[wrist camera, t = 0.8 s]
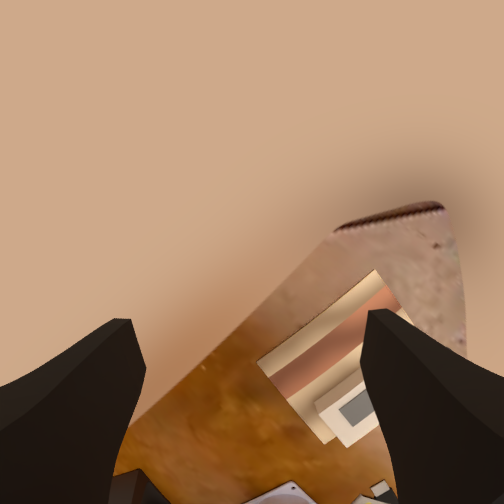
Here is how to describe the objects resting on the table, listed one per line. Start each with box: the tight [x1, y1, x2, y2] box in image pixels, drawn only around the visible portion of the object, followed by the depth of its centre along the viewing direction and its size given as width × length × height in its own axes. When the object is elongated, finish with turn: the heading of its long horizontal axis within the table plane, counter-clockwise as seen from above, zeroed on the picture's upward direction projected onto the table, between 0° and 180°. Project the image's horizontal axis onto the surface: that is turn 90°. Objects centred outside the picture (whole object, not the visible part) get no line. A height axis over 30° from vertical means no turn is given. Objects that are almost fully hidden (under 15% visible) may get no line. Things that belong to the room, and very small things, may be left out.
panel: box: [256, 270, 414, 444], centre depth 28 cm, size 12×15×1 cm
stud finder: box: [314, 367, 379, 448], centre depth 26 cm, size 5×7×4 cm
